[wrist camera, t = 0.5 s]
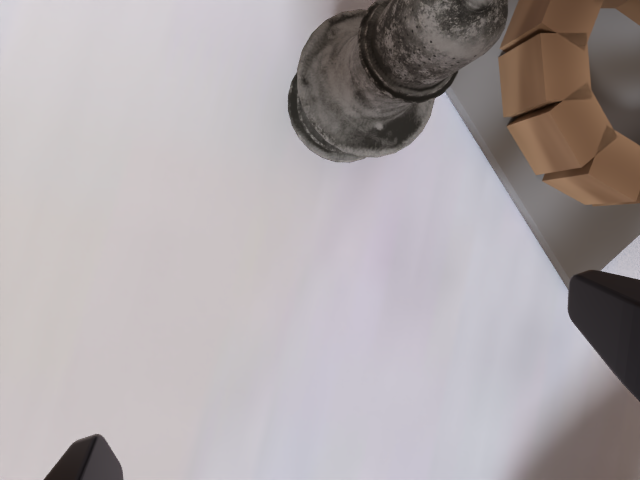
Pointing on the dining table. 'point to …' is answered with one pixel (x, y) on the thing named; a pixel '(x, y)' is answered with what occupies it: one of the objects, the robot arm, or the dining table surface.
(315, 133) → the salt shaker
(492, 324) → the dining table surface
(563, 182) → the walnut collar
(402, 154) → the dining table surface
